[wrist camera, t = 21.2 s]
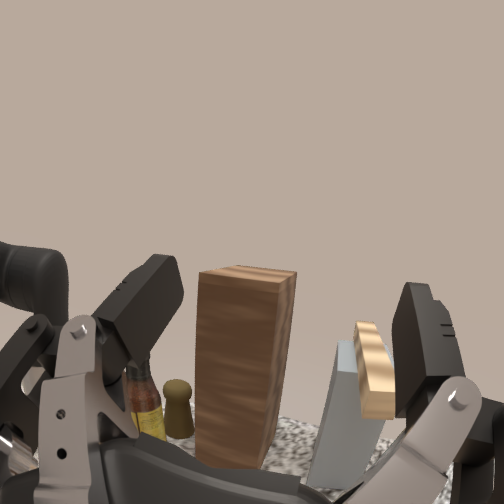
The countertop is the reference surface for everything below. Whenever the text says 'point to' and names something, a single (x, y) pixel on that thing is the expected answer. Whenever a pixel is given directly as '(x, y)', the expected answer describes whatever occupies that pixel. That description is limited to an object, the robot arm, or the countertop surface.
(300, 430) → the countertop surface
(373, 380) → the beech bar
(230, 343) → the tall walnut stand
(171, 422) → the cork
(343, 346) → the grey rectangular block
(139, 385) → the sauce bottle
